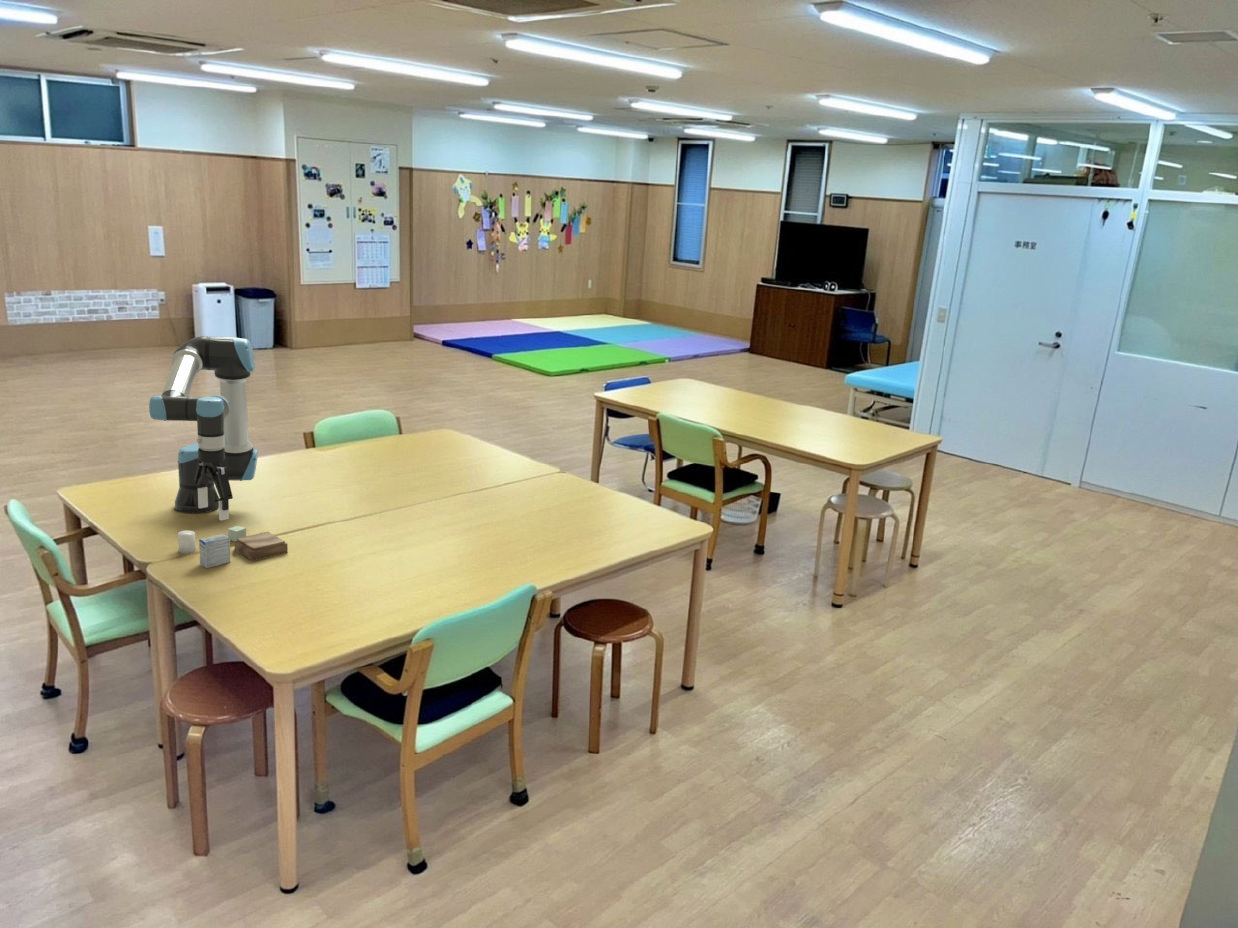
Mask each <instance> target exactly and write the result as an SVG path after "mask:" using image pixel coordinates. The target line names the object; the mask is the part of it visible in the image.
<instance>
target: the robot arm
mask: <svg viewBox="0 0 1238 928" xmlns="http://www.w3.org/2000/svg"><path fill="white" fill-rule="evenodd" d="M170 362H171V369H170V371H169V375H168V376H167V379H166V383H165V385H164V387H163V390H162V393H161V395H153V396H151V397H150V399H149V404H148V405H149V409H148V411H149V415H150V417H151V419H153V420H154V421H155V420H157V421H164V422H165V421H169V422H170V421H172V422H173V421H174V422H175V421H177V422H178V421H179V422H181V421H183V422H184V421H185V422H196V424H197V425H196V427H197V439H196V442H197V443H193V444H189V445H186V446H184V447H182V448H180V449H179V450H178V453H177V454H178V455H177V469H178V490H177V493H176V497H175V500H174V509H175V510H176V511H178V512H179V513H185V514H205V513H209V512H213V511H216V510H218V514H219V515H218V516H219V517H218V518H219V521H225V520H229V519H230V507H229V506H230V505H229V504H230V503H229V501H230V500H232V499H234V498H233V497H234V496H233V493H232V489H231V485H230V481H235V482H239V481H240V482H241V481H242V482H243V481H252V480H253V479H254V477H255V474H256V470H257V464H258V458H259V457H258V455H259V450H258V449H256V448H254V443H253V442H252V441H250V440H249V421H248V420H249V419H248V397H247V396H248V395H247V393H248V392H247V380H248V379H249V378H250V377H251V373H253V372H254V371H255V367H256V363H255V355H254V348H253V345H252V343H251V341H250V340H249V339H247V338H243V337H242V338H240V337H237V336H236V337H235V336H233V337H231V336H227V337H226V336H225V337H224V336H208V335H206V336H204V335H201V336H196V337H193V338H191V339H188V340H186V341H185V342H183V343H182V344H181V345H179V346H178V347H177V349H175V351H174V352H173V354H172V357H171V361H170ZM201 371H214V377H215V378H216V379H218V380H219V389H220V390H219V391H220V394H212V395H211V396H190V394H191V391H192V388H193V386H194V382H195V379H196V376H197V375H198V373H200V372H201Z"/></svg>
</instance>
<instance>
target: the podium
mask: <svg viewBox="0 0 1238 928" xmlns="http://www.w3.org/2000/svg"><path fill="white" fill-rule="evenodd" d="M234 550H235V551H236V552H238V553H240V554H241V555H243V557H247V559H249V560H251V561H253V562H255V561H259V560H262V559H266V558H270V557H271V558H272V557H275V556H280V555H283V554H286V553H287V554H288V552H289V550H288V543H287V542H286V540H283V539H282V538H280V537H278V536H276V535H275V534H273V533H271V532H270V531H265V532H260V533H256V534H251V535H246V537H242V538H237V540H235V542H234Z"/></svg>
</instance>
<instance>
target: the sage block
mask: <svg viewBox="0 0 1238 928" xmlns="http://www.w3.org/2000/svg"><path fill="white" fill-rule="evenodd" d="M246 536H247V527H243V526H241V525H235V526H232V527H229V528H227V537H229V538H230V542H231V541H232V542H234V543H235V540H237V538H242V537H246Z"/></svg>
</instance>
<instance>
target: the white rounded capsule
mask: <svg viewBox="0 0 1238 928" xmlns="http://www.w3.org/2000/svg"><path fill="white" fill-rule="evenodd" d="M177 544H178V547H177V548H178V553H180V554H191V553H194V552H195V551H196V532H195V531H193V530H181V531H179V532H178V533H177Z"/></svg>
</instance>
